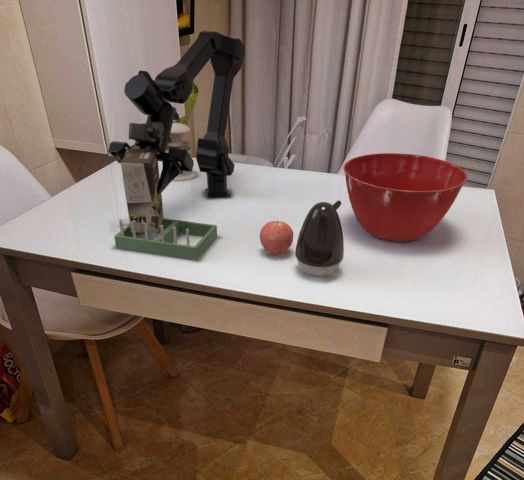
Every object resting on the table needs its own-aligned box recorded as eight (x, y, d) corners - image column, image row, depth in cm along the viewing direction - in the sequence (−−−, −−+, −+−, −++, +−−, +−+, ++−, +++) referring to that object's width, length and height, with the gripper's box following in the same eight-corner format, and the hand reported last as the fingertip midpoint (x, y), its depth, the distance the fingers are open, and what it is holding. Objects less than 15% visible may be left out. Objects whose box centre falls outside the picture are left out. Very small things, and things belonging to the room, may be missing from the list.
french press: (160, 179, 153) (150, 88, 138) (171, 167, 162) (163, 81, 147) (190, 181, 152) (184, 90, 137) (200, 169, 161) (196, 83, 146)
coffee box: (158, 234, 113) (150, 163, 103) (130, 233, 113) (119, 162, 103) (165, 216, 120) (157, 148, 110) (138, 215, 120) (128, 147, 110)
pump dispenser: (351, 271, 108) (361, 203, 99) (320, 287, 102) (327, 216, 93) (315, 255, 114) (321, 189, 105) (284, 270, 108) (288, 201, 99)
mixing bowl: (324, 244, 119) (331, 179, 109) (349, 203, 140) (356, 146, 131) (446, 265, 111) (465, 197, 102) (453, 219, 133) (469, 159, 123)
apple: (298, 253, 114) (301, 220, 109) (275, 263, 110) (276, 229, 106) (277, 242, 119) (278, 210, 114) (253, 251, 115) (254, 218, 110)
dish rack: (142, 226, 125) (138, 199, 121) (217, 236, 121) (216, 209, 116) (116, 248, 115) (111, 219, 111) (197, 260, 111) (195, 231, 106)
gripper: (104, 102, 107) (86, 169, 106) (184, 108, 103) (167, 179, 102) (127, 131, 118) (111, 193, 116) (200, 138, 114) (185, 202, 113)
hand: (142, 191), depth 112 cm, fingers closed on coffee box, 7 cm apart
